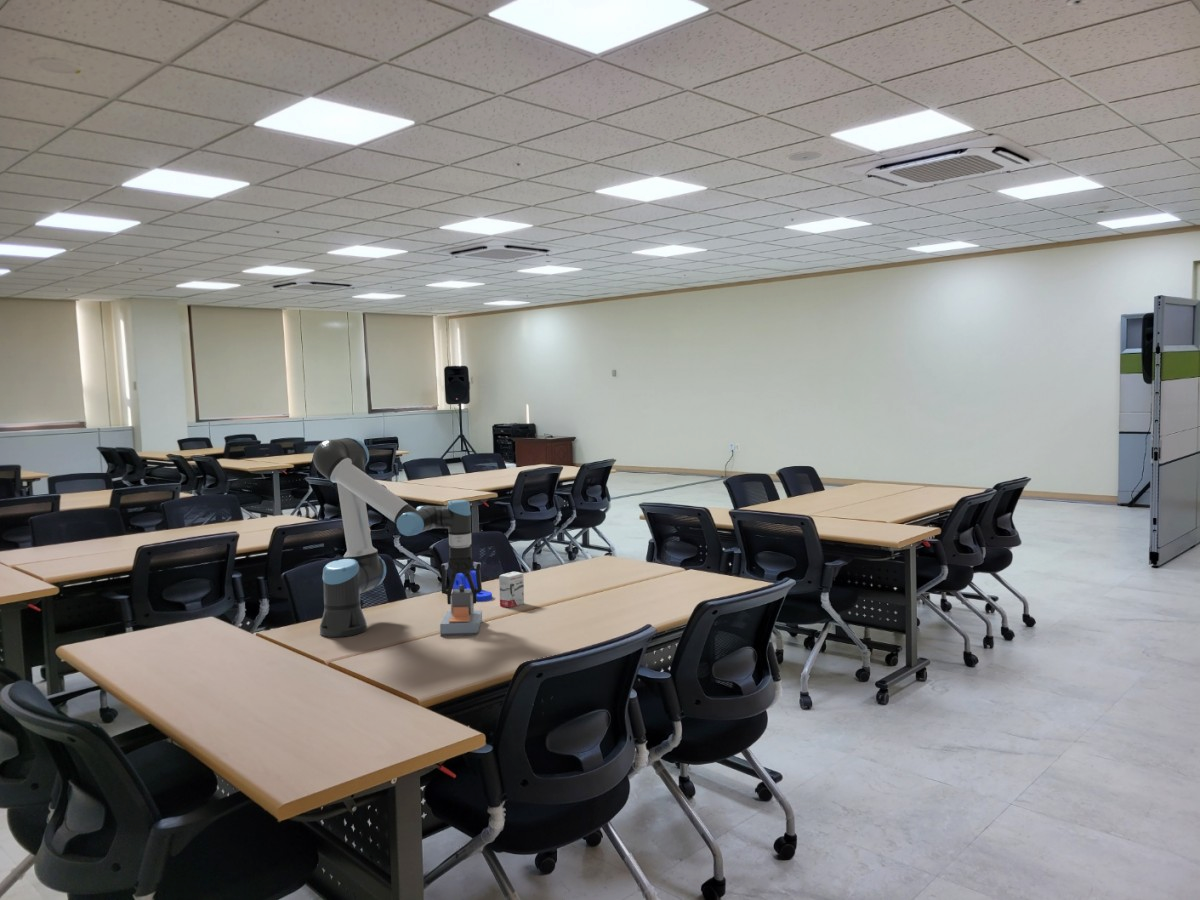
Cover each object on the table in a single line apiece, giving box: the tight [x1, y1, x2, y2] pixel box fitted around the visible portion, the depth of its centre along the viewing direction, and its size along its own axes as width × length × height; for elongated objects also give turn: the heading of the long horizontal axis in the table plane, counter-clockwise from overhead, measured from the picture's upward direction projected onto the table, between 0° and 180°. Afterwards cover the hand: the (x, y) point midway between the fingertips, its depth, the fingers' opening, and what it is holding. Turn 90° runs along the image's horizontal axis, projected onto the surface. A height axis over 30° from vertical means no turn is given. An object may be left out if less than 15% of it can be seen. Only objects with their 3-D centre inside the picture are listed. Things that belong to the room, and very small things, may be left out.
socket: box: [439, 609, 483, 637], centre depth 279 cm, size 12×16×4 cm
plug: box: [451, 585, 472, 614], centre depth 282 cm, size 6×6×12 cm
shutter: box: [449, 607, 471, 622], centre depth 275 cm, size 7×7×3 cm
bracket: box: [452, 570, 493, 602], centre depth 324 cm, size 18×8×9 cm, turn 41°
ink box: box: [498, 571, 525, 609], centre depth 310 cm, size 9×5×12 cm, turn 143°
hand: (462, 613), depth 282 cm, fingers closed on plug, 6 cm apart
